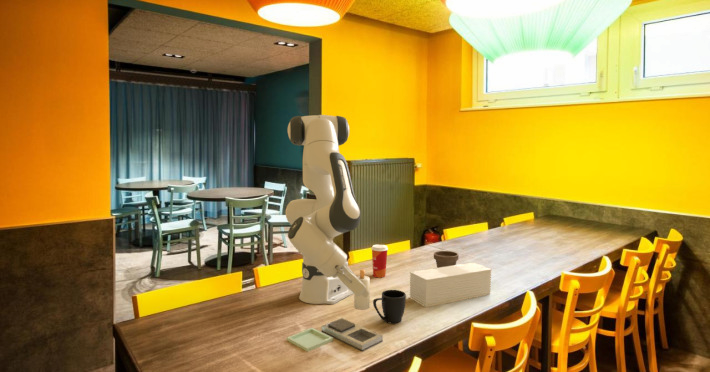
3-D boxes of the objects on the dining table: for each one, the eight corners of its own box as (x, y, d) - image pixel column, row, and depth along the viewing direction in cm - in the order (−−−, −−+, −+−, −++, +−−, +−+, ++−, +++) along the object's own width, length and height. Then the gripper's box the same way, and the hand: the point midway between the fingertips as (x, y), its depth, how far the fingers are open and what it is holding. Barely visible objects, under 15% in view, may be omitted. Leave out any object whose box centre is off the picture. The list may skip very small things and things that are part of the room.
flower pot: (430, 271, 203) (430, 250, 202) (453, 270, 204) (453, 250, 203) (437, 278, 192) (437, 257, 191) (461, 278, 193) (462, 256, 192)
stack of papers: (472, 286, 182) (473, 262, 181) (490, 294, 172) (491, 269, 171) (409, 298, 168) (410, 271, 167) (425, 307, 158) (426, 279, 157)
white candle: (361, 303, 132) (362, 267, 130) (372, 307, 128) (373, 270, 127) (351, 306, 128) (351, 270, 127) (362, 311, 125) (362, 273, 124)
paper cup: (371, 272, 199) (372, 243, 198) (388, 273, 198) (388, 244, 197) (370, 278, 191) (370, 247, 190) (387, 279, 190) (387, 248, 189)
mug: (367, 319, 147) (367, 293, 146) (397, 314, 152) (397, 288, 151) (379, 329, 139) (379, 301, 138) (409, 322, 145) (410, 295, 144)
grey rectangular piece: (341, 325, 142) (342, 315, 142) (382, 343, 130) (382, 333, 129) (321, 333, 136) (321, 323, 136) (362, 353, 123) (362, 342, 123)
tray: (312, 331, 137) (312, 327, 137) (332, 342, 130) (332, 337, 130) (286, 342, 130) (286, 337, 130) (307, 353, 123) (307, 348, 123)
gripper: (348, 263, 115) (382, 295, 119) (332, 246, 135) (361, 274, 138) (332, 281, 114) (367, 312, 118) (318, 260, 134) (348, 288, 137)
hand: (364, 291), depth 128 cm, fingers closed on white candle, 5 cm apart
